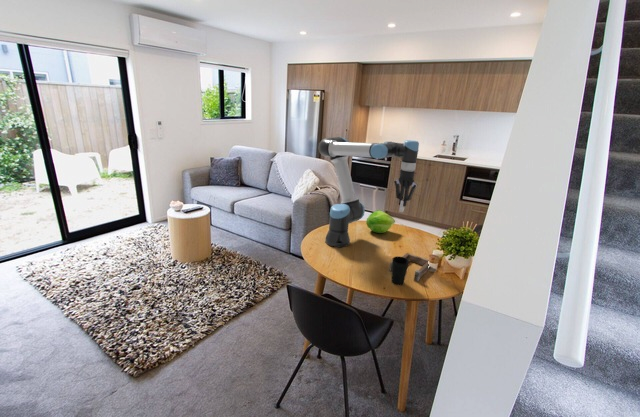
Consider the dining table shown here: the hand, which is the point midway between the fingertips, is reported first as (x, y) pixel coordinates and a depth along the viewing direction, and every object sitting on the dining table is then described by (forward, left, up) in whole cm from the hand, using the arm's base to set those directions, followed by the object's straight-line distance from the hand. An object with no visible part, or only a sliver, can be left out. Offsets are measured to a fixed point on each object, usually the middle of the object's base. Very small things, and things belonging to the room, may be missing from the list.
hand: (401, 211), depth 174 cm
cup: (+15, -30, -26) cm, 42 cm away
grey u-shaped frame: (+15, -13, -26) cm, 32 cm away
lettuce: (-22, +23, -26) cm, 41 cm away
